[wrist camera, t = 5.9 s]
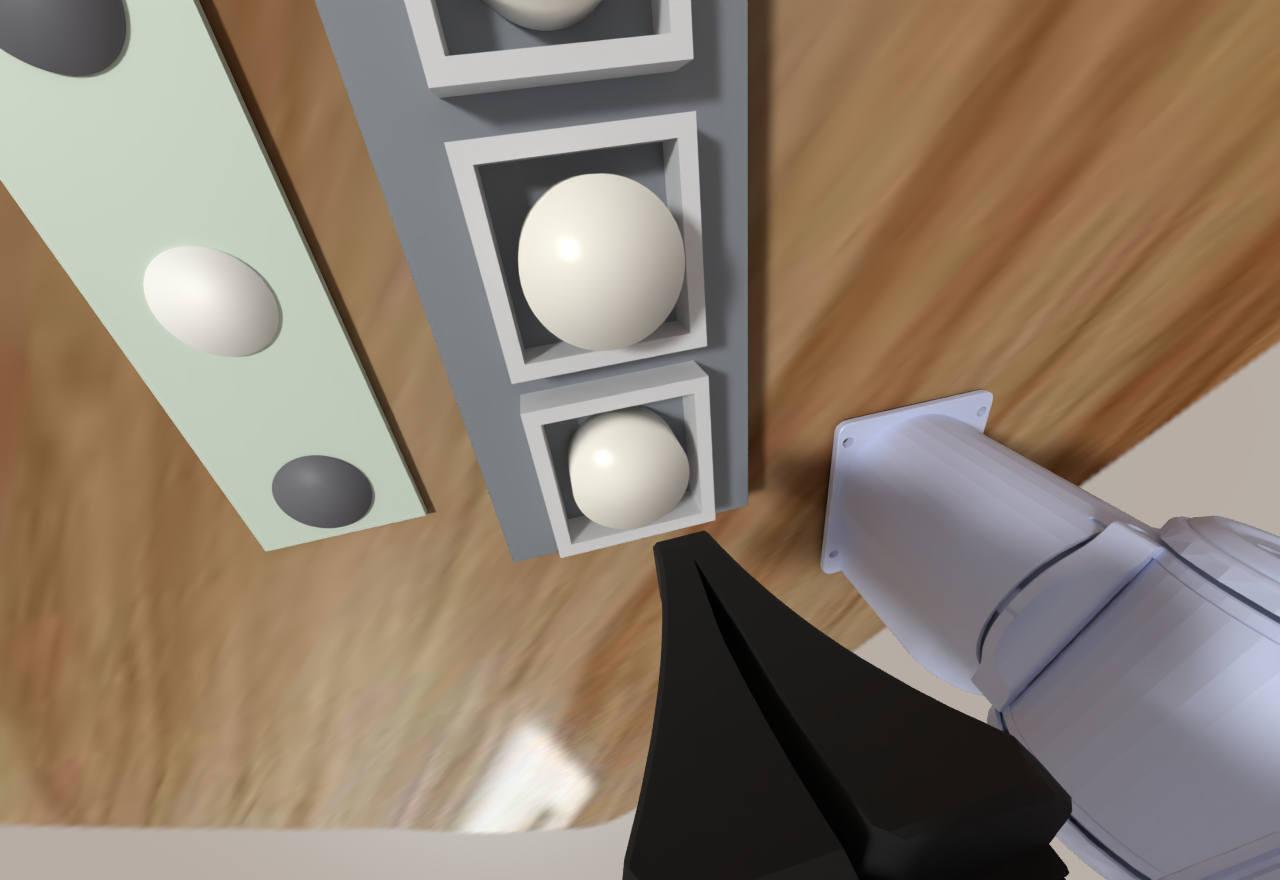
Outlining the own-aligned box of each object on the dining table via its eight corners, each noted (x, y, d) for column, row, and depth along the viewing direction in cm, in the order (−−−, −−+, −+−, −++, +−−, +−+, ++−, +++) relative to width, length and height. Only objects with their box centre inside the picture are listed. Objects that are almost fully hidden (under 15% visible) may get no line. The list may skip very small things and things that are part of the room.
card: (427, 510, 19) (425, 516, 19) (269, 546, 18) (264, 553, 18) (131, -151, 10) (117, -162, 10) (-210, -135, 9) (-239, -148, 9)
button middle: (671, 318, 14) (690, 335, 12) (538, 342, 13) (539, 363, 12) (658, 163, 12) (678, 162, 10) (500, 185, 11) (497, 187, 10)
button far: (678, 486, 18) (693, 513, 17) (578, 509, 18) (584, 540, 16) (670, 394, 16) (685, 416, 15) (557, 417, 16) (561, 443, 14)
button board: (730, 479, 22) (763, 527, 19) (514, 530, 20) (512, 590, 17) (710, -310, 11) (785, -500, 8) (232, -308, 9) (96, -537, 6)
